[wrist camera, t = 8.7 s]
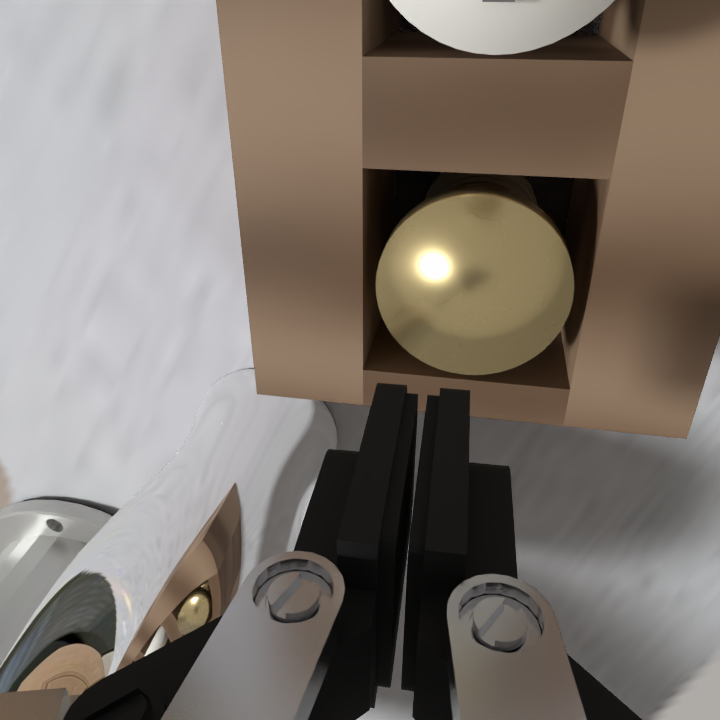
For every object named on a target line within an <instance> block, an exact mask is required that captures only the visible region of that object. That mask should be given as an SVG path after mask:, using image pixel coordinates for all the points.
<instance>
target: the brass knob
mask: <svg viewBox="0 0 720 720" xmlns="http://www.w3.org/2000/svg"><path fill="white" fill-rule="evenodd" d="M573 296H574V274H573V269H572V264H571V259H570V255H569V251H568V248H567V245H566V242H565V240H564V238H563V236H562V234H561V232H560V230H559V228H558V227H557V226H556V224H555V223H554V222H553V220H552V219H551V218H550V217H549V216H548V215H547V214H546V213H545V212H544V211H543V210H542V209H541V208H539V207H538V206H537V201H536V197H535V193H534V191H533V188H532V186H531V184H530V182H529V181H528V180H527V178H526V177H525V176H523V175H501V174H479V173H457V172H442V173H441V174H440V175H439V176H438V177H437V178H436V179H435V181H434V182H433V183H432V185H431V187H430V189H429V191H428V193H427V196H426V199H425V200H424V201H422V202H420V203H419V204H418V205H416V206H415V207H414V208H412V209H411V210H410V211H409V212H408V213H407V214H406V215H405V216H404V217H403V218H402V219H401V220H400V222H399V223H398V224H397V226H396V227H395V228H394V230H393V232H392V233H391V235H390V237H389V239H388V241H387V243H386V246H385V248H384V251H383V253H382V256H381V258H380V261H379V265H378V269H377V274H376V297H377V302H378V307H379V310H380V313H381V316H382V318H383V320H384V322H385V324H386V326H387V328H388V330H389V331H390V333H391V334H392V336H393V337H394V338H395V339H396V340H397V342H398V343H399V344H400V345H401V346H402V347H403V348H404V349H405V350H407V351H408V352H409V353H410V354H411V355H413V356H414V357H416V358H417V359H419V360H420V361H422V362H424V363H426V364H428V365H430V366H432V367H435V368H438V369H440V370H444V371H447V372H451V373H457V374H463V375H485V374H493V373H498V372H502V371H506V370H509V369H512V368H514V367H517V366H519V365H521V364H524V363H525V362H527V361H529V360H531V359H532V358H534V357H535V356H537V355H538V354H539V353H541V352H542V351H543V350H544V349H545V348H546V347H547V346H548V345H549V344H550V343H551V342H552V341H553V340H554V339H555V338H556V336H557V335H558V334H559V332H560V331H561V329H562V327H563V326H564V324H565V322H566V320H567V317H568V315H569V313H570V310H571V306H572V302H573Z"/></svg>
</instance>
